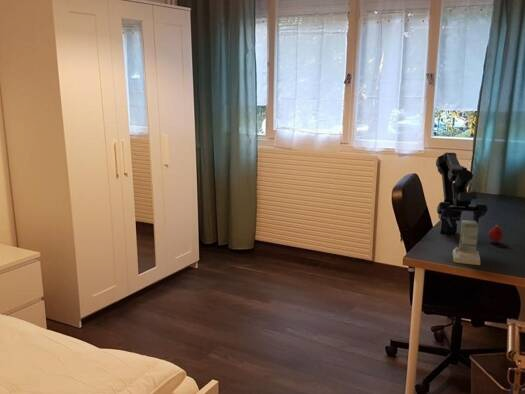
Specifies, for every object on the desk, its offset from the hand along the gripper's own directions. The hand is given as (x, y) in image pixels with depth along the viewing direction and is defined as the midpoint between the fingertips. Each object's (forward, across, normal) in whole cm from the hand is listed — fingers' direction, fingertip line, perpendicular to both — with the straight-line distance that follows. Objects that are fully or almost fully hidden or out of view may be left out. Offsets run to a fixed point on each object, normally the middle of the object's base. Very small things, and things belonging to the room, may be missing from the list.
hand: (463, 227), depth 197 cm
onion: (-2, +18, +17) cm, 25 cm away
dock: (+13, 0, +2) cm, 13 cm away
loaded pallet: (+12, 0, 0) cm, 12 cm away
